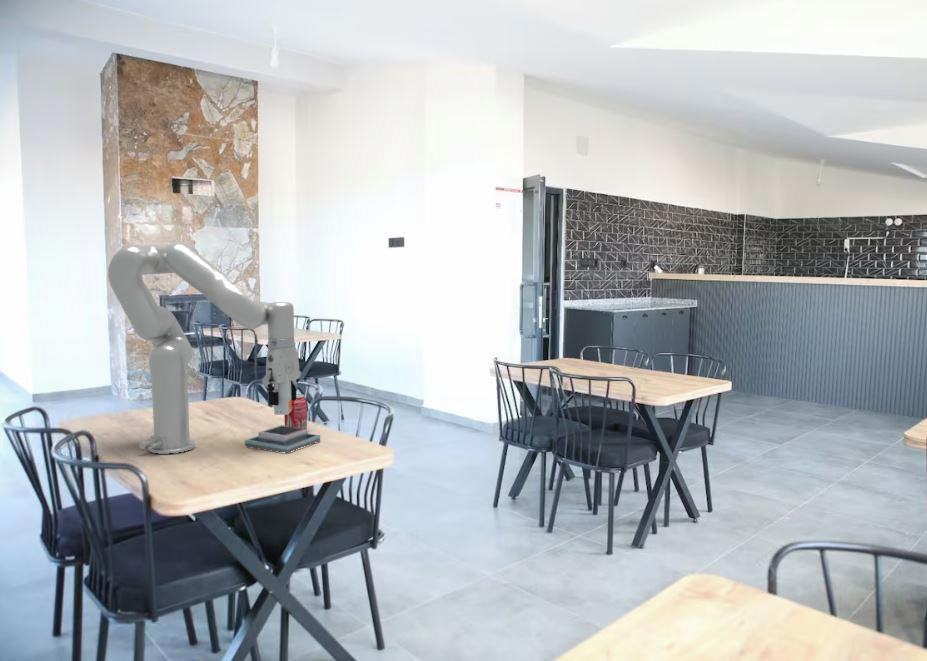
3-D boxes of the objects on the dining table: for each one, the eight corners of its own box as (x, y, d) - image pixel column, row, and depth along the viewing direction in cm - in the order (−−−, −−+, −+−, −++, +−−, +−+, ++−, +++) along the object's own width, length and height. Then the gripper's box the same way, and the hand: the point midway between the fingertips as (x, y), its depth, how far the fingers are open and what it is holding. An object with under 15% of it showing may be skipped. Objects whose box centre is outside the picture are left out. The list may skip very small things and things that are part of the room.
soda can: (287, 429, 220) (287, 393, 219) (309, 429, 220) (308, 393, 219) (282, 435, 213) (281, 397, 212) (304, 435, 213) (304, 397, 212)
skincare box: (288, 415, 199) (287, 375, 198) (274, 415, 199) (272, 375, 197) (292, 410, 205) (291, 371, 204) (278, 410, 205) (277, 371, 203)
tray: (287, 453, 192) (286, 439, 192) (244, 446, 199) (244, 432, 199) (320, 441, 206) (320, 428, 205) (279, 435, 213) (279, 422, 212)
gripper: (270, 347, 190) (272, 409, 192) (310, 341, 206) (311, 398, 208) (250, 346, 193) (252, 406, 195) (291, 339, 209) (292, 396, 211)
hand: (282, 402), depth 201 cm, fingers closed on skincare box, 7 cm apart
